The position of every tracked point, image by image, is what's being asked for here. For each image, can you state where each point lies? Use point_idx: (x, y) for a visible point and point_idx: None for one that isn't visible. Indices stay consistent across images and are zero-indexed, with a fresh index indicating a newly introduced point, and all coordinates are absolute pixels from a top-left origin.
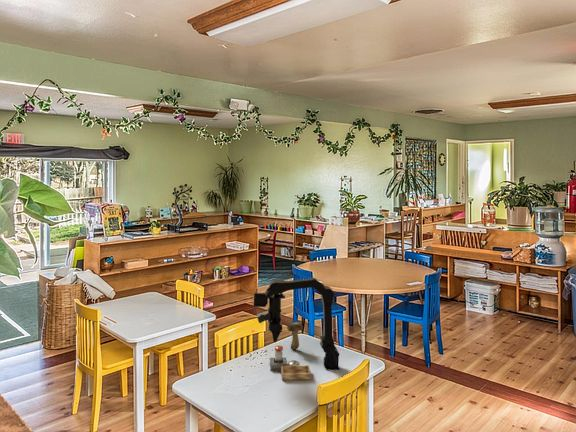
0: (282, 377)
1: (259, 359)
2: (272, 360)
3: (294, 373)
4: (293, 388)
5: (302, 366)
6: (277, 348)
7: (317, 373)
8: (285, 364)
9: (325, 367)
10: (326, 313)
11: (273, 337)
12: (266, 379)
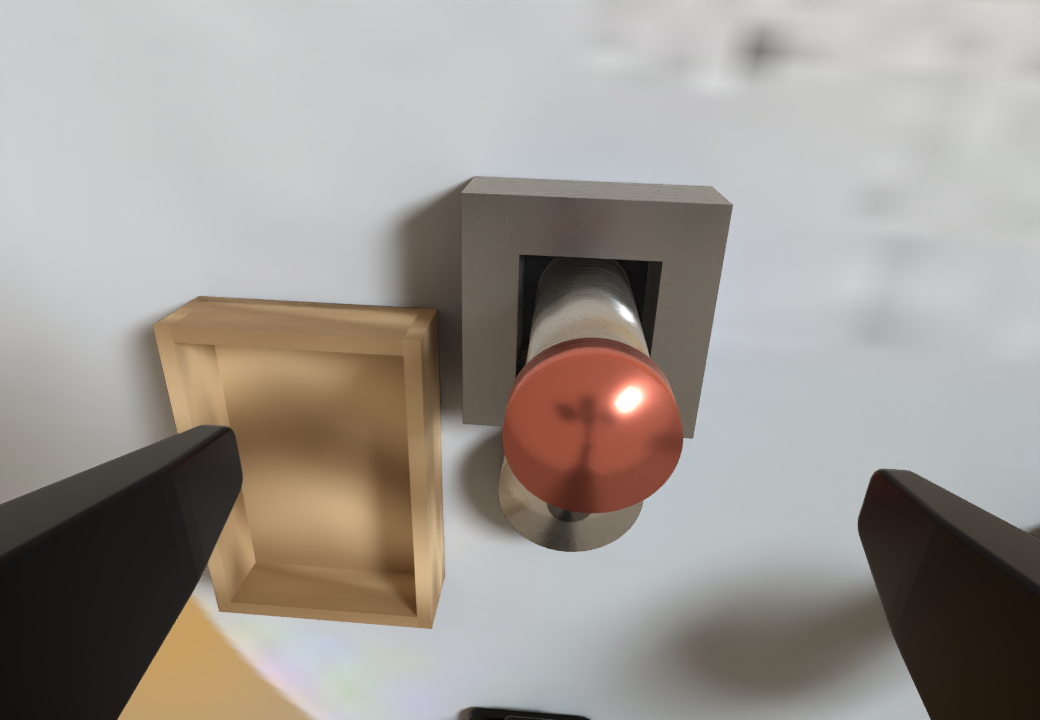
0: (177, 311)
1: (916, 20)
2: (614, 236)
3: (357, 450)
4: (45, 385)
5: (416, 567)
6: (514, 407)
7: (400, 633)
8: (463, 400)
9: (499, 717)
10: None
11: (8, 525)
12: (205, 95)
